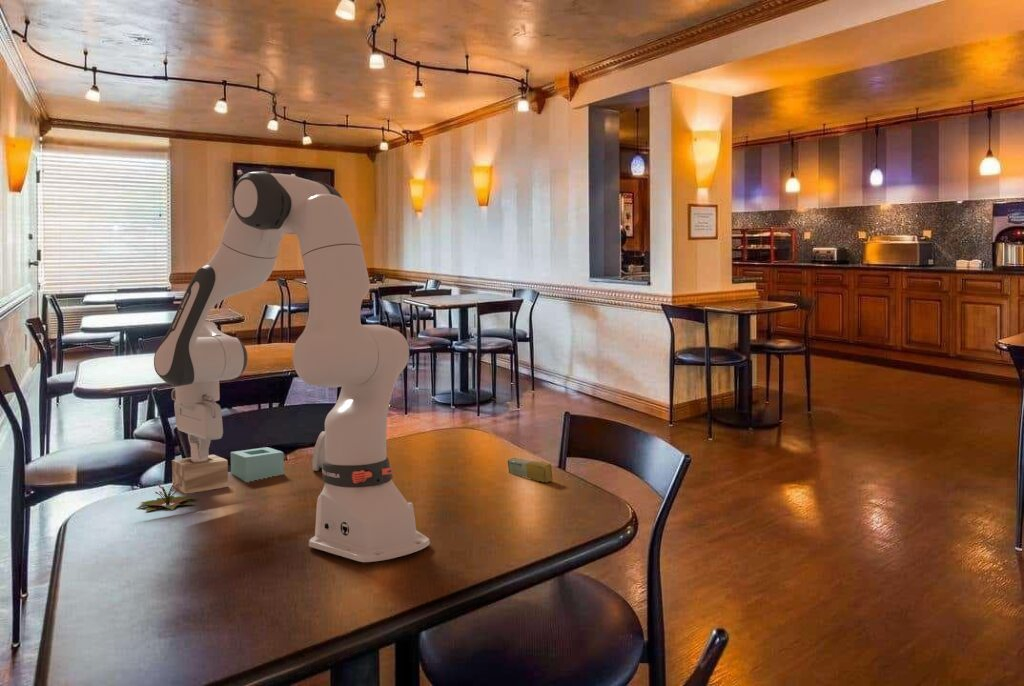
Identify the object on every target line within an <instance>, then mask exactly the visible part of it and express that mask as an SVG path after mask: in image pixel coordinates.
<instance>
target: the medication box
mask: <svg viewBox="0 0 1024 686" xmlns="http://www.w3.org/2000/svg"><path fill="white" fill-rule="evenodd" d="M507 465H508V466H507V467H508V473H509V474H511V473H512V475H514V474H516V475H515V476H518V475H519V477H521V476H524V477H527V478H530V479H529V480H531V479H534V480H537V481H536V482H539V481H541V483H544V482H545V484H546V483H549V482H552V481H553V470H552V469H553V468H552V463H550V462H549V463H548V462H541V461H537V460H530V459H523V458H517V457H513V458H509V459H508V460H507ZM524 477H523V478H524ZM527 478H526V479H527ZM534 480H533V481H534Z"/></svg>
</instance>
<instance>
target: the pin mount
mask: <svg viewBox="0 0 1024 686" xmlns="http://www.w3.org/2000/svg"><path fill="white" fill-rule="evenodd" d="M228 464H229V461H228V459H226V458H224V457H221V456H219V455H216V454H209V455H208V461H204V462H197V463H191V457H185V458H177V459H171V468H172V469H171V470H172V471H171V472H172V473H171V475H172V482H171V483H172V484H173V483H174V482H175V483H174V486H176V485H177V484H179V485H177V486H176V487H175V488H174V489H176V488H177V490H178V491H180V492H182V493H183V494H186V495H188V494H193V493H199V492H206V491H211V490H214V489H215V490H216V489H222V488H223V489H224V488H227V487H229V469H228V468H229V465H228Z"/></svg>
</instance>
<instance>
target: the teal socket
mask: <svg viewBox="0 0 1024 686" xmlns="http://www.w3.org/2000/svg"><path fill="white" fill-rule="evenodd" d="M284 459H285V458H284V452H283V451H281V450H278V449H275V448H272V447H267V446H266V447H259V448H251V449H245V450H244V449H242V450H236V451H230V474H232V475H233V476H235V477H236V478H238V479H239V480H240V481H241V480H242V481H243V482H245V483H246V482H248V483H250V482H249V481H252V482H255V481H254V480H257V481H259V480H258V479H261V480H264V479H263V478H265V479H268V477H270V478H273V477H272V476H274V477H278V476H283V475H284V474H285V468H284V467H285V465H284Z"/></svg>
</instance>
